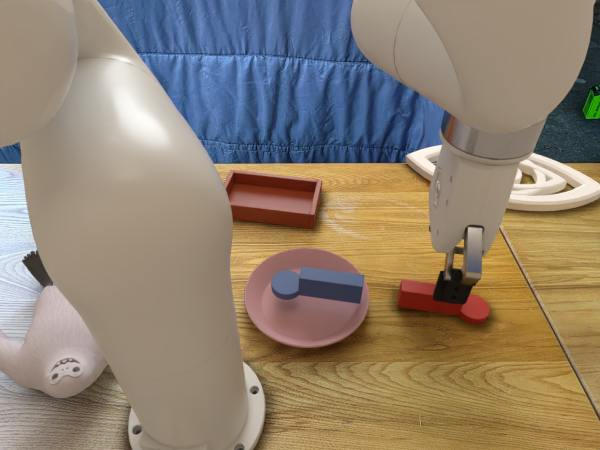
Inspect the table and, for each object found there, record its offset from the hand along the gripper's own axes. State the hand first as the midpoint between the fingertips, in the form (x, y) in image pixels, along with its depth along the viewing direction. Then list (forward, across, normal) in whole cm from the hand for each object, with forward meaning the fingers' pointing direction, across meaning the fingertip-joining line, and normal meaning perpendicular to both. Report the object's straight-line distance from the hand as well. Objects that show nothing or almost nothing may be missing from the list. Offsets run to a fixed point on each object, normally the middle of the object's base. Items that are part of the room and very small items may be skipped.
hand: (445, 264), depth 48 cm
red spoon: (+7, 0, +1) cm, 7 cm away
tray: (+7, -14, -23) cm, 27 cm away
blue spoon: (+4, +2, -14) cm, 15 cm away
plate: (+7, +3, -15) cm, 16 cm away
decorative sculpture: (+5, -28, -3) cm, 29 cm away
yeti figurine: (+3, +4, -46) cm, 46 cm away
